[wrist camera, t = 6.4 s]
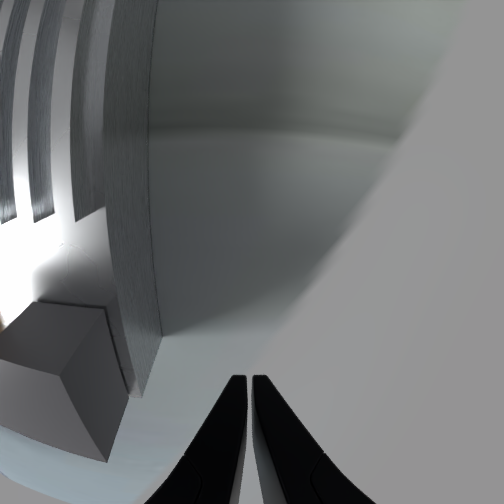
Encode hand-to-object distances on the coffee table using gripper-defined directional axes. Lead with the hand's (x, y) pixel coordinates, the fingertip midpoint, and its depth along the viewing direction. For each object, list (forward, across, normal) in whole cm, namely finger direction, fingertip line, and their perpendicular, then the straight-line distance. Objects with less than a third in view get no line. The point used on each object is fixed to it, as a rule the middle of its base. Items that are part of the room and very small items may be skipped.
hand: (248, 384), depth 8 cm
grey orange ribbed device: (+5, +11, -8) cm, 14 cm away
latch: (+1, +7, 0) cm, 7 cm away
